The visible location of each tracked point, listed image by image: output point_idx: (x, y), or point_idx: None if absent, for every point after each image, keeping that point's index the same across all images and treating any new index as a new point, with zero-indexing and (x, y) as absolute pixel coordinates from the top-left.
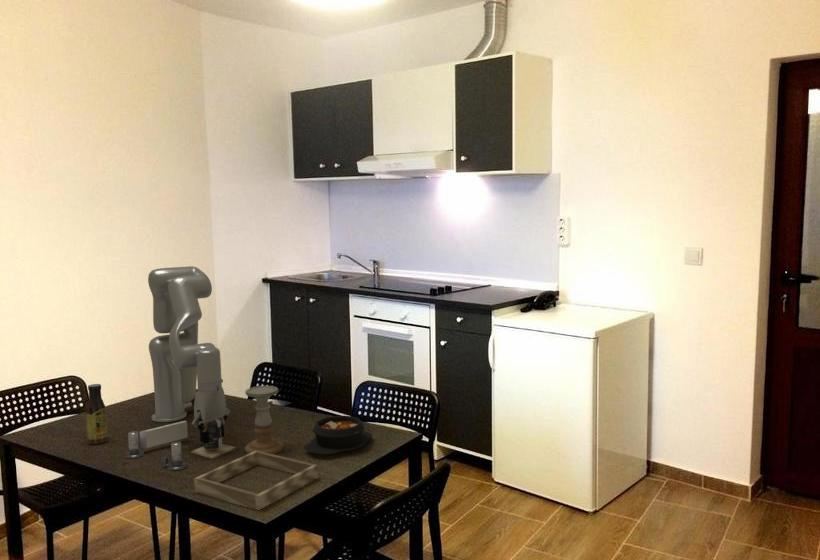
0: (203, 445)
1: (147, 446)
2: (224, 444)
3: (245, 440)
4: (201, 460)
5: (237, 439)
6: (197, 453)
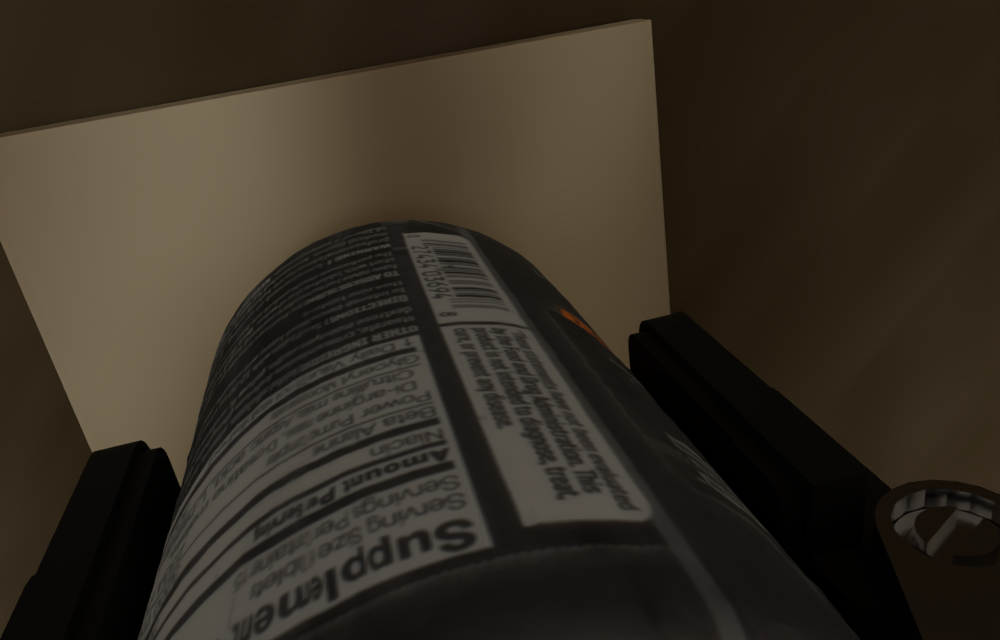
0: (222, 339)
1: None
2: (666, 312)
3: (992, 312)
4: (7, 602)
5: (983, 171)
6: (50, 349)
